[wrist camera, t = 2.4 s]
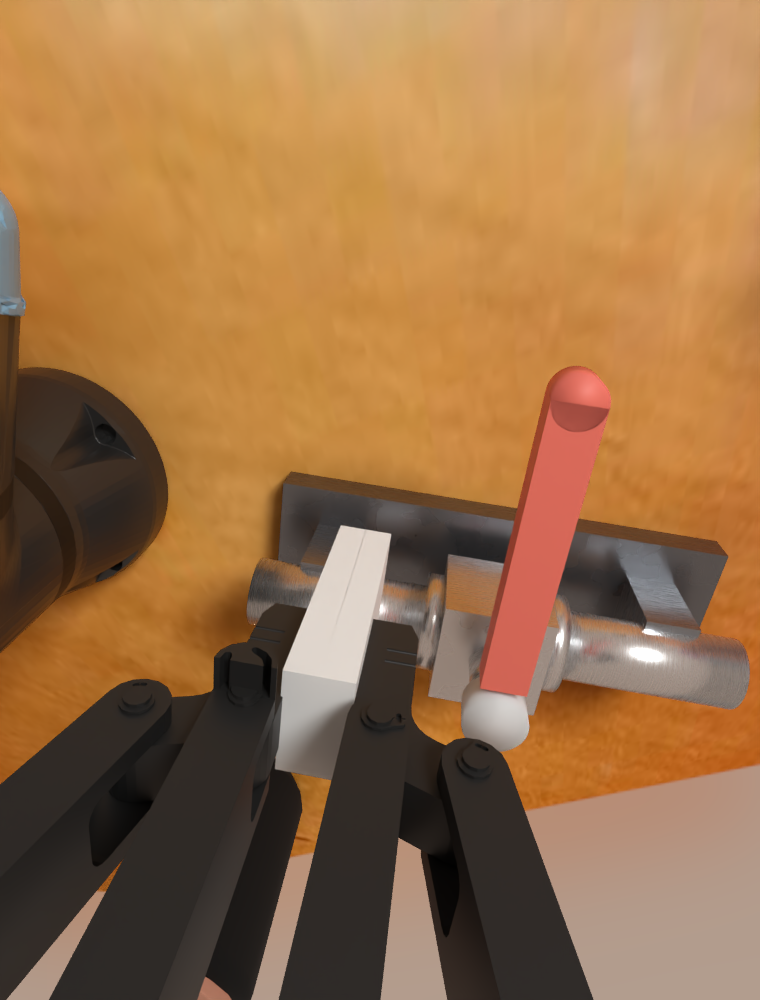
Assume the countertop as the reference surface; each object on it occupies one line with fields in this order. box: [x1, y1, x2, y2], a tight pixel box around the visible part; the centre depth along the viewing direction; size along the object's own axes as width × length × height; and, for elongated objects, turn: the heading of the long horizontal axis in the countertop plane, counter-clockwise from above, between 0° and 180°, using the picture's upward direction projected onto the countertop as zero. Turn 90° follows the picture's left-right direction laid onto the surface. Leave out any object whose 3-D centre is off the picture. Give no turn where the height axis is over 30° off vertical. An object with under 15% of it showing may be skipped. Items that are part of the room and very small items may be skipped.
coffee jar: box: [197, 758, 302, 1000], centre depth 47 cm, size 11×11×18 cm
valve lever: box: [461, 366, 611, 752], centre depth 28 cm, size 19×3×2 cm, turn 173°
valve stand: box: [247, 472, 750, 715], centre depth 38 cm, size 28×10×12 cm, turn 83°
